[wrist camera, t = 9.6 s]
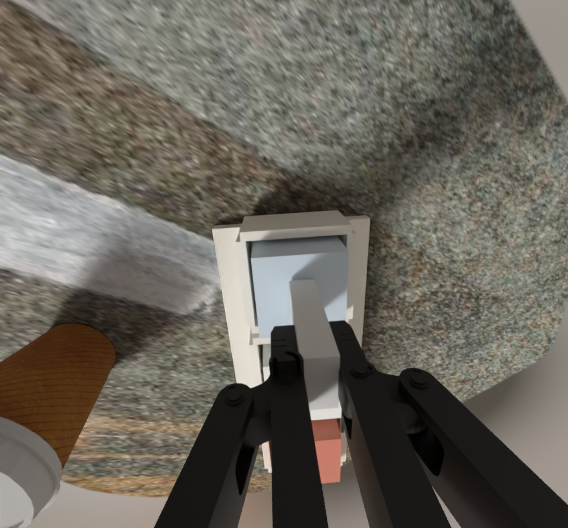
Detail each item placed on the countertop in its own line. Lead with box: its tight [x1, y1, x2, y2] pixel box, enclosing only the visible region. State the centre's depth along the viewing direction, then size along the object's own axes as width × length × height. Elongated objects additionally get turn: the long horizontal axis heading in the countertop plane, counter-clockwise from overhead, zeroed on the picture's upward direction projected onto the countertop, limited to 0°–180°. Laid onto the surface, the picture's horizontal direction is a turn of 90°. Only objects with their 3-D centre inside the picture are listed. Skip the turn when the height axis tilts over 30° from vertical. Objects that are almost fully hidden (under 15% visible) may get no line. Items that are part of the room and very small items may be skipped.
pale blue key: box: [251, 235, 349, 338], centre depth 19 cm, size 6×6×4 cm
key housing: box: [212, 210, 370, 472], centre depth 25 cm, size 24×12×5 cm, turn 3°
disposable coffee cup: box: [0, 323, 116, 528], centre depth 21 cm, size 10×10×12 cm
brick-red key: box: [311, 418, 341, 484], centre depth 26 cm, size 6×6×4 cm
